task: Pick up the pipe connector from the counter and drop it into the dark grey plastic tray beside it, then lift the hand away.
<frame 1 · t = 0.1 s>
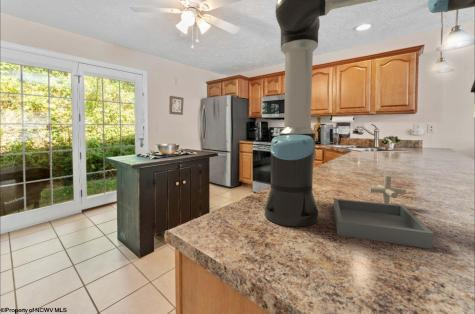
tray: (372, 224, 57), on the worktop
pipe connector: (385, 206, 71), on the worktop
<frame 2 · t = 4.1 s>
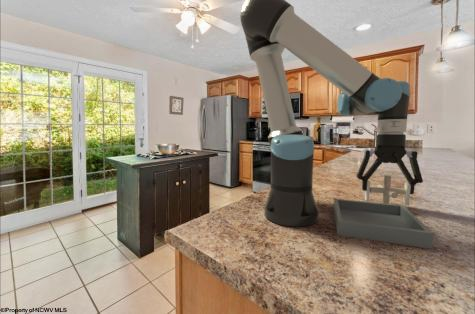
hand: (385, 201, 70), 1 cm above the worktop, tool pointing down, fingers closed on pipe connector, 10 cm apart
pipe connector: (385, 206, 71), on the worktop, touching gripper
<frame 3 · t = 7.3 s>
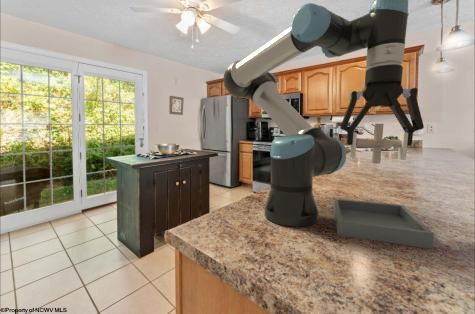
hand: (376, 158, 55), 18 cm above the worktop, tool pointing down, fingers closed on pipe connector, 10 cm apart
pipe connector: (376, 163, 55), point 16 cm above the worktop, touching gripper
when the fingers open (4 cm above the worktop, at t = 10.9 s): pipe connector drops 2 cm, resting on tray.
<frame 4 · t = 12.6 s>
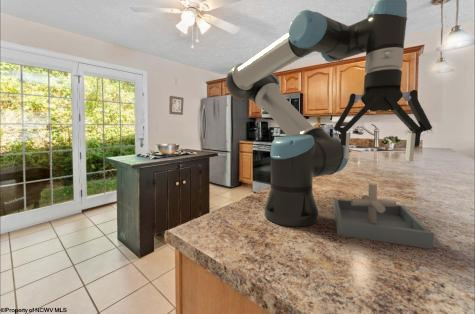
hand: (376, 159, 55), 17 cm above the worktop, tool pointing down, fingers open, 13 cm apart
pipe connector: (372, 222, 56), point 1 cm above the worktop, touching tray
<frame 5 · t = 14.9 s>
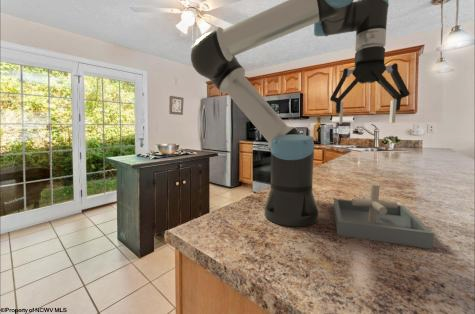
hand: (365, 123, 66), 27 cm above the worktop, tool pointing down, fingers open, 13 cm apart
nothing on the worktop moved.
at the end: pipe connector inside the target area on the tray (0.2 cm from its centre), point 0.6 cm above the tray's base; the gripper is holding nothing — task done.
